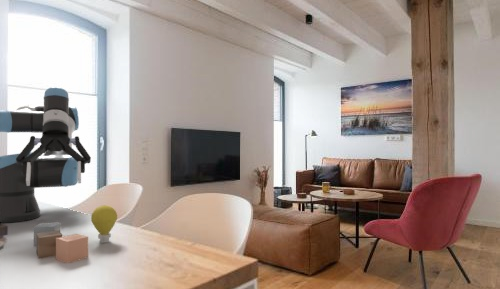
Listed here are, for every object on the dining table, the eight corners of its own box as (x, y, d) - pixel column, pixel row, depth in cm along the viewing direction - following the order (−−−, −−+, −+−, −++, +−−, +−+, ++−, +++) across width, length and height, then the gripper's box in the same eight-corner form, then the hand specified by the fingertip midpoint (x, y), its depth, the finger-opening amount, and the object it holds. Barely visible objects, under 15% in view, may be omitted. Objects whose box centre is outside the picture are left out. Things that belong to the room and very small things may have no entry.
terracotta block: (55, 259, 83) (55, 238, 83) (76, 253, 87) (76, 233, 87) (67, 263, 80) (67, 241, 80) (88, 257, 84) (88, 236, 84)
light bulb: (85, 243, 95) (85, 206, 95) (103, 237, 101) (103, 202, 101) (105, 246, 93) (105, 208, 92) (122, 239, 99) (122, 204, 99)
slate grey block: (40, 240, 98) (40, 223, 98) (60, 239, 99) (60, 222, 99) (33, 246, 93) (33, 227, 93) (54, 245, 94) (54, 226, 94)
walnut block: (36, 253, 87) (36, 233, 87) (59, 249, 90) (59, 230, 90) (38, 258, 83) (38, 237, 83) (62, 254, 86) (62, 234, 86)
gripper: (9, 118, 108) (2, 177, 97) (97, 120, 119) (100, 174, 108) (12, 133, 113) (6, 190, 102) (96, 133, 125) (98, 186, 114)
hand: (54, 182), depth 105 cm, fingers open, 13 cm apart
